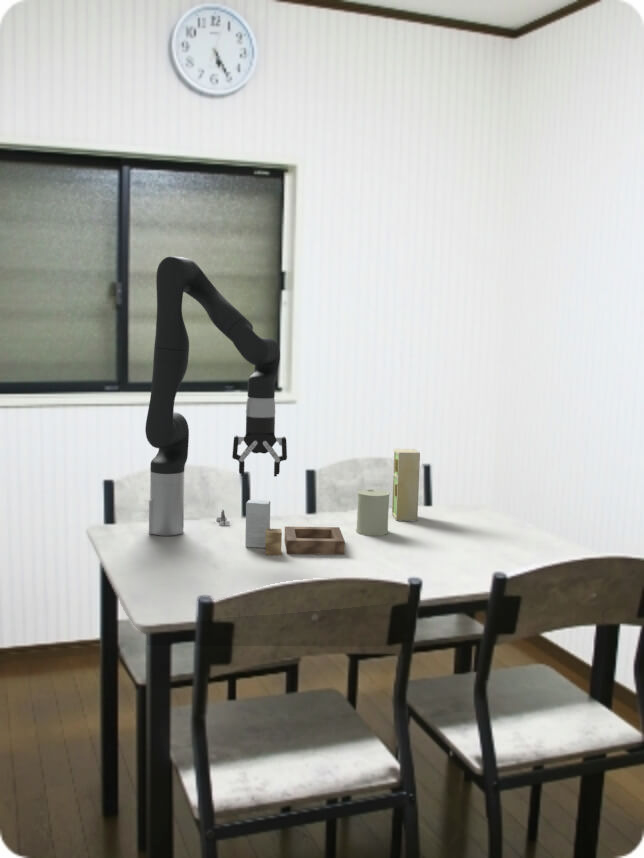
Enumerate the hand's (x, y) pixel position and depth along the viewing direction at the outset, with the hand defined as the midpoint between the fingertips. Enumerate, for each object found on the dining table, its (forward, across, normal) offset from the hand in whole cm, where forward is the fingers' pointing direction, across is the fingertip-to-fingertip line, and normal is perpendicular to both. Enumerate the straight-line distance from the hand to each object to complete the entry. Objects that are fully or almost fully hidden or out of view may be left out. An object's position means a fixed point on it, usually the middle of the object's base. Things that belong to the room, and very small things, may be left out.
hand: (259, 475), depth 243 cm
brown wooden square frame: (+19, +15, 0) cm, 24 cm away
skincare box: (+19, 0, 0) cm, 19 cm away
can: (+19, +33, +17) cm, 42 cm away
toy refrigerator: (+19, +45, +35) cm, 60 cm away
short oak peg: (+19, +4, -7) cm, 21 cm away
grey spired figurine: (+20, -9, +21) cm, 30 cm away
